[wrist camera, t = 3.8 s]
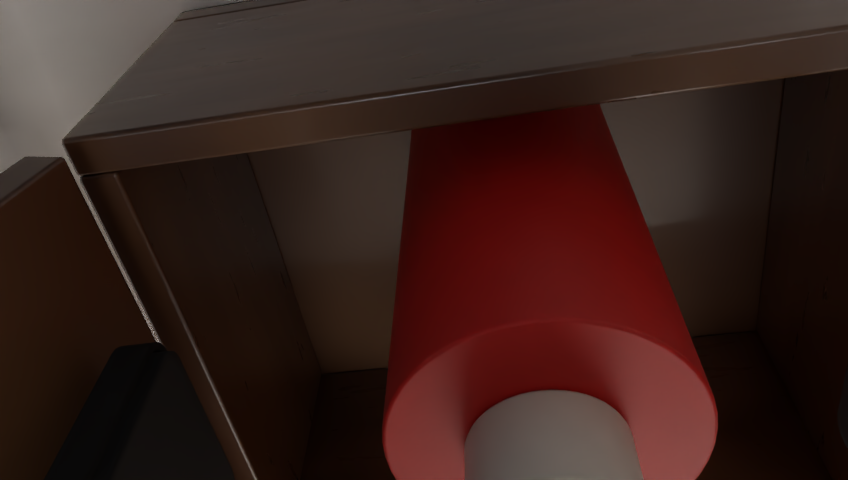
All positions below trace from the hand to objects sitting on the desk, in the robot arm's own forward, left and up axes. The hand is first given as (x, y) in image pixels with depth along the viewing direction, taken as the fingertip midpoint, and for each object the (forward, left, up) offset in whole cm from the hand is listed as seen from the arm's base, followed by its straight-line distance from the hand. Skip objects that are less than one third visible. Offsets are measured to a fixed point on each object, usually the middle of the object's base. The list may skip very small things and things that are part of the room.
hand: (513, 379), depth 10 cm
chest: (+1, 0, -7) cm, 7 cm away
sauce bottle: (0, 0, -7) cm, 7 cm away
